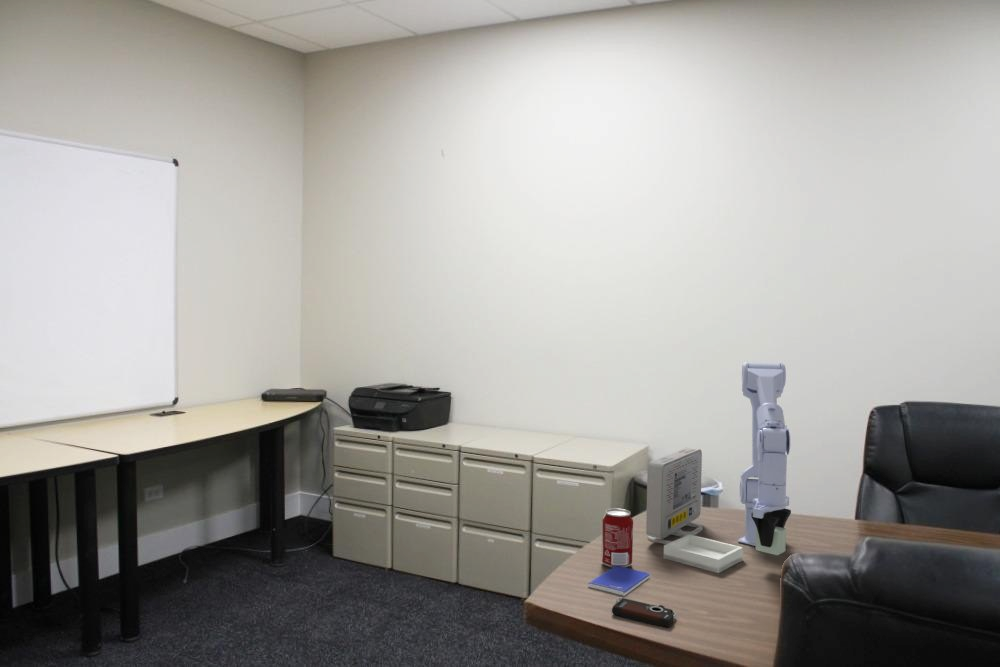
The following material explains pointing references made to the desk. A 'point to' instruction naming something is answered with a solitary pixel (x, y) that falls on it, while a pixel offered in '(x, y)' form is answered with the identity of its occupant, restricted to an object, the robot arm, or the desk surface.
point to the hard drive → (619, 580)
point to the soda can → (617, 538)
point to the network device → (673, 494)
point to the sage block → (777, 543)
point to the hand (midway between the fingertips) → (770, 543)
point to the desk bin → (703, 553)
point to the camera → (644, 612)
